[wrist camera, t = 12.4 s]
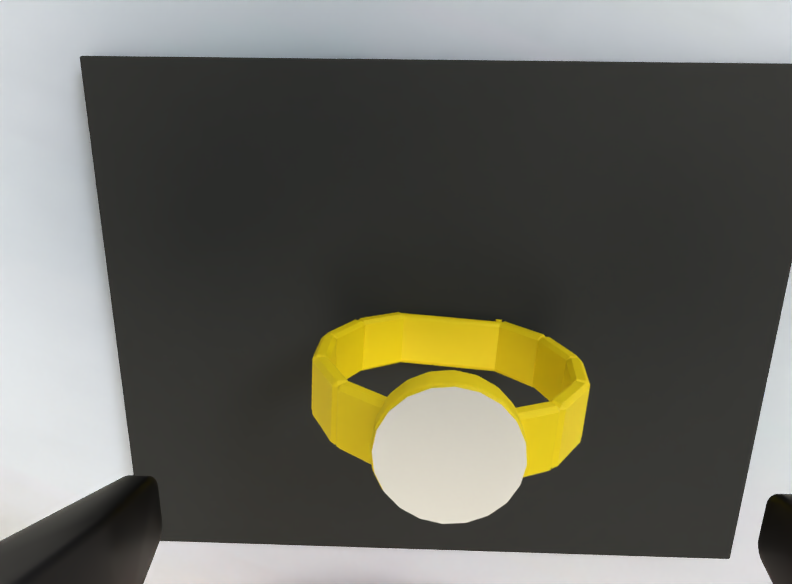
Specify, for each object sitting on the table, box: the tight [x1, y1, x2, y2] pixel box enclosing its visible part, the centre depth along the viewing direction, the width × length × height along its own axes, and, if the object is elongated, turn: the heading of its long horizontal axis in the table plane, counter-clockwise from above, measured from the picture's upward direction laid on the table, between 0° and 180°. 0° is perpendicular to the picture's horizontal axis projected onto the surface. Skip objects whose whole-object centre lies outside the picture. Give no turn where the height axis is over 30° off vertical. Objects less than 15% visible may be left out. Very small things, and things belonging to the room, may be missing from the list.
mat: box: [80, 56, 792, 559], centre depth 16 cm, size 18×14×1 cm
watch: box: [311, 312, 590, 524], centre depth 13 cm, size 6×3×6 cm, turn 87°
